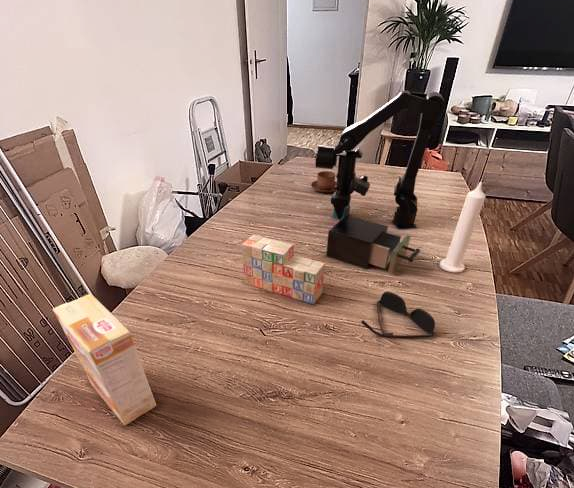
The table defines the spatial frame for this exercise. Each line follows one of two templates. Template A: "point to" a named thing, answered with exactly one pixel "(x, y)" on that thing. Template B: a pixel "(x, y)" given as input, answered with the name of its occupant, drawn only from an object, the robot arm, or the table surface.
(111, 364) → the coffeecake box
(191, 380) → the table surface
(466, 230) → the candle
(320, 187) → the cup and saucer
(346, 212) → the block
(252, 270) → the stack of blocks
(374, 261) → the drawer
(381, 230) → the cabinet
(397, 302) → the sunglasses
